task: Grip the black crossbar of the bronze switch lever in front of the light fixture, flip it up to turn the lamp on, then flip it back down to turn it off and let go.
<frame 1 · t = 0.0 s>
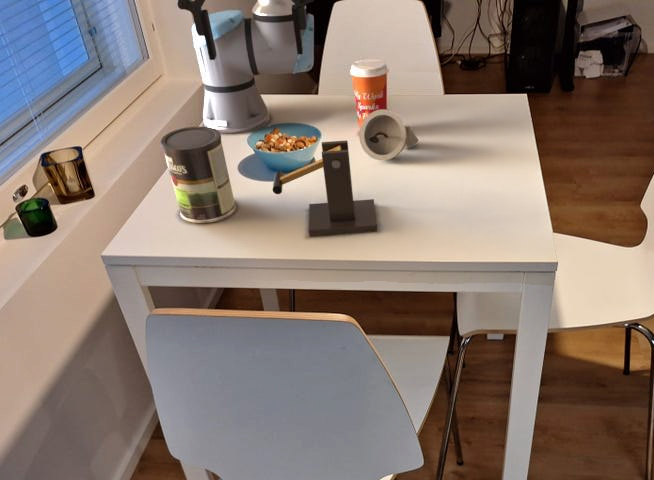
hand: (257, 55, 105), 28 cm above the table, tool pointing down, fingers open, 13 cm apart
coffee can: (209, 211, 126), on the table
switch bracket: (342, 220, 121), on the table
switch lever: (308, 169, 114), point 10 cm above the table, hinge at -20.0°
light fixture: (386, 156, 143), on the table
coffee cup: (373, 134, 152), on the table
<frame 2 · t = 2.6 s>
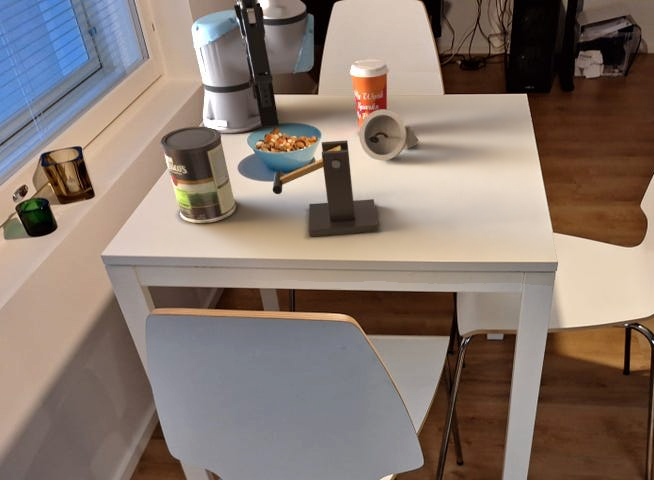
hand: (266, 111, 108), 20 cm above the table, tool pointing down, fingers open, 13 cm apart
nothing on the table moved.
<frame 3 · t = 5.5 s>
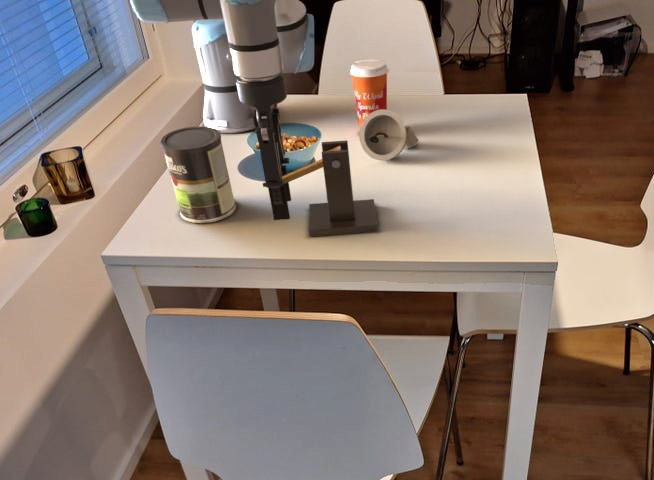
hand: (282, 209, 119), 3 cm above the table, tool pointing down, fingers closed on switch lever, 6 cm apart
switch lever: (308, 169, 114), point 10 cm above the table, hinge at -20.0°, touching gripper
everything else where it was.
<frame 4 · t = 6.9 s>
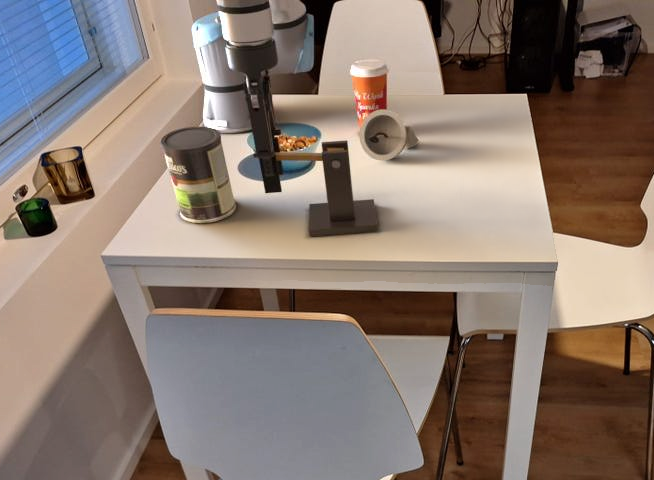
hand: (274, 182, 115), 8 cm above the table, tool pointing down, fingers closed on switch lever, 6 cm apart
switch lever: (304, 156, 113), point 12 cm above the table, hinge at 5.2°, touching gripper
everything else where it was.
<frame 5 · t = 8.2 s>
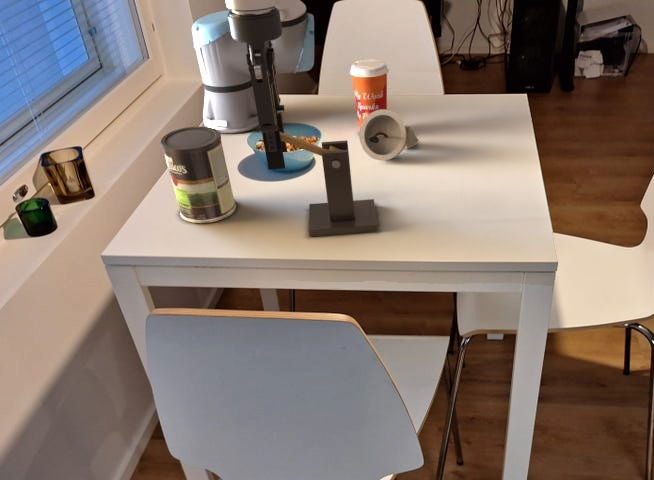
hand: (277, 159, 113), 12 cm above the table, tool pointing down, fingers closed on switch lever, 6 cm apart
switch lever: (306, 146, 112), point 14 cm above the table, hinge at 26.1°, touching gripper
everything else where it was.
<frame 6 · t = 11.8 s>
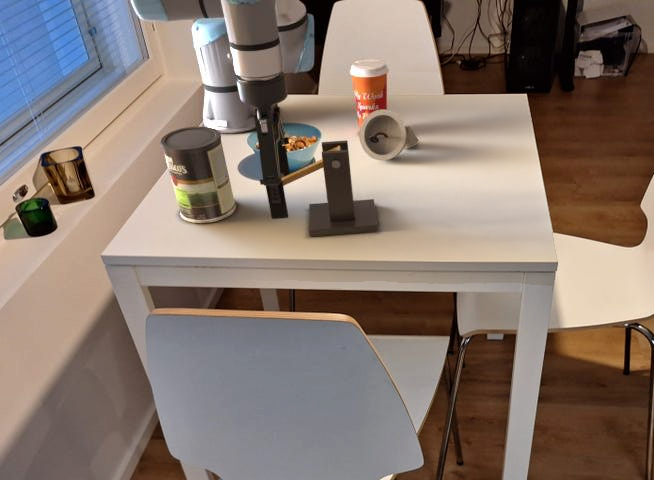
hand: (281, 198, 118), 5 cm above the table, tool pointing down, fingers open, 13 cm apart
switch lever: (308, 169, 114), point 10 cm above the table, hinge at -21.3°
everything else where it was.
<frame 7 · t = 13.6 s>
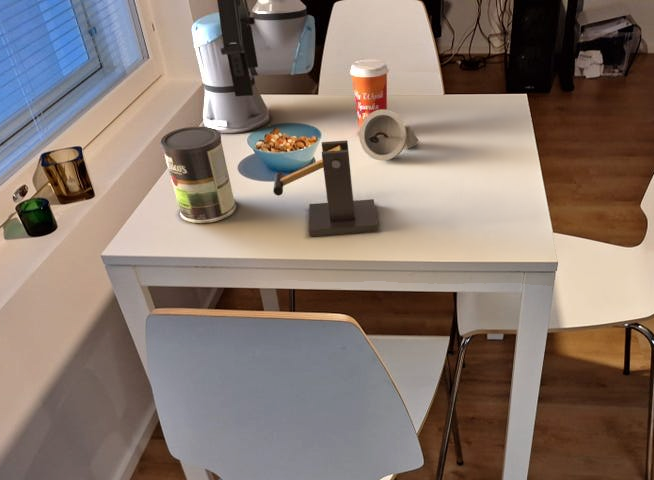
hand: (247, 80, 112), 23 cm above the table, tool pointing down, fingers open, 13 cm apart
nothing on the table moved.
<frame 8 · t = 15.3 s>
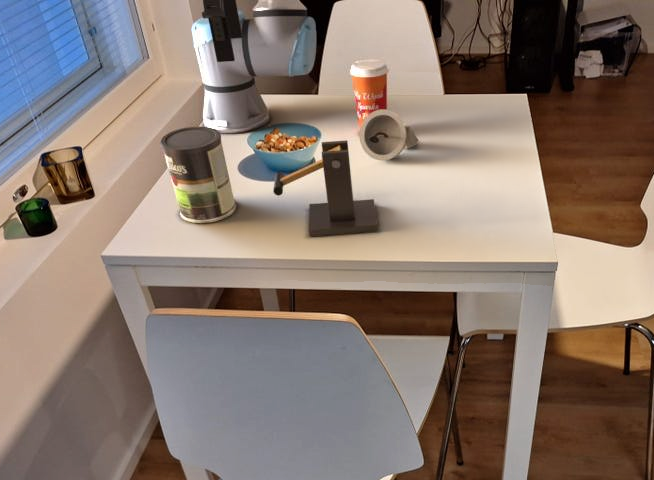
hand: (230, 49, 113), 27 cm above the table, tool pointing down, fingers open, 13 cm apart
nothing on the table moved.
at the end: switch lever reached +26° during the clip, -21° at the end; switch lever at -21° (first picture: -20°); light fixture moved 0.2 cm from its start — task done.
